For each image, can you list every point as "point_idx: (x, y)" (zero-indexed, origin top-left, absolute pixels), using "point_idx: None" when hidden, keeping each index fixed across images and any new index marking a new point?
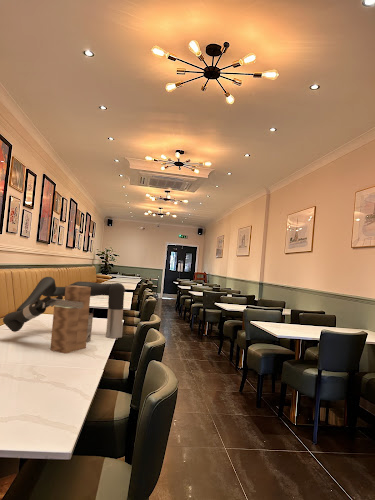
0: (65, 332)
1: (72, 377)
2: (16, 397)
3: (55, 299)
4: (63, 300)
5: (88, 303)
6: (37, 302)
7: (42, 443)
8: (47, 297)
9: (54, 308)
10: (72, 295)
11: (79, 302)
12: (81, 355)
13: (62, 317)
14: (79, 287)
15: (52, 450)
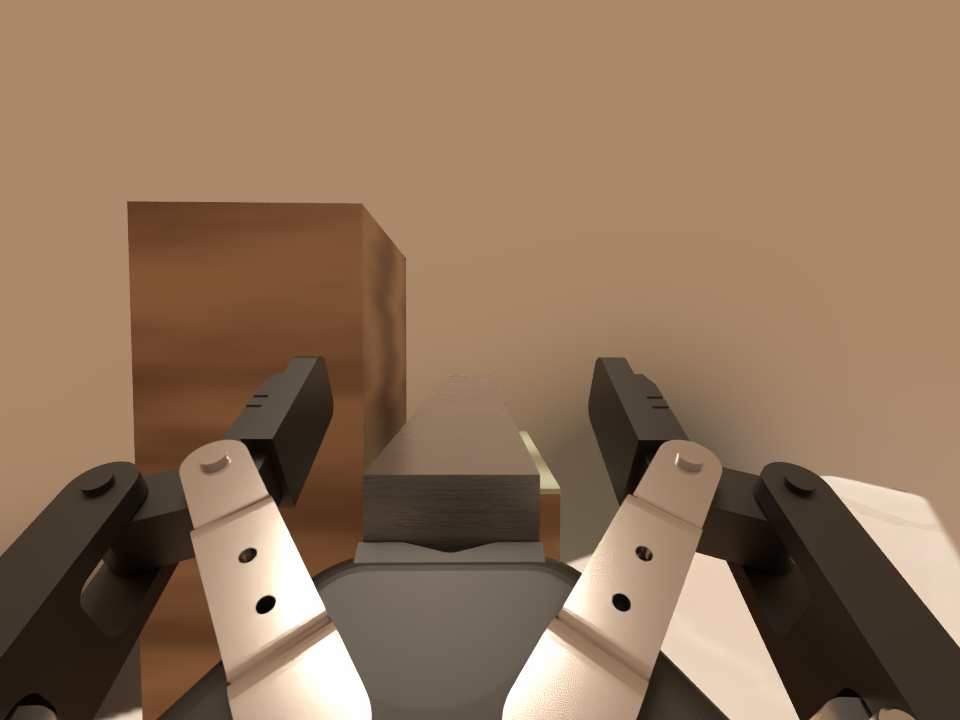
0: None
1: (714, 564)
2: (926, 565)
3: (507, 411)
4: (495, 393)
5: None
6: (824, 604)
7: (861, 487)
8: (643, 386)
9: (558, 518)
10: (389, 337)
11: (486, 375)
12: None
13: None
14: (402, 256)
15: (848, 480)
